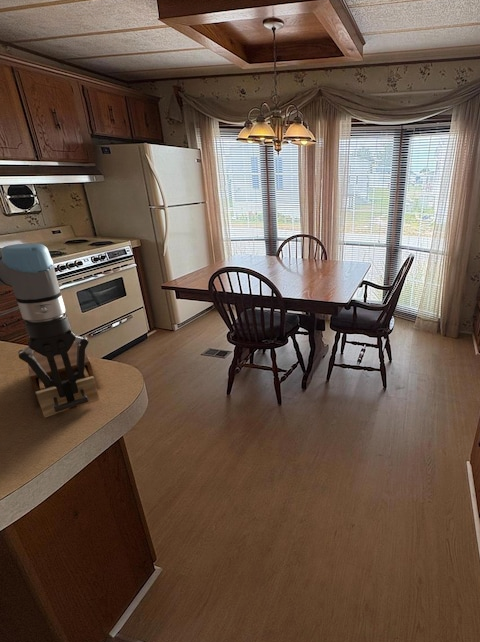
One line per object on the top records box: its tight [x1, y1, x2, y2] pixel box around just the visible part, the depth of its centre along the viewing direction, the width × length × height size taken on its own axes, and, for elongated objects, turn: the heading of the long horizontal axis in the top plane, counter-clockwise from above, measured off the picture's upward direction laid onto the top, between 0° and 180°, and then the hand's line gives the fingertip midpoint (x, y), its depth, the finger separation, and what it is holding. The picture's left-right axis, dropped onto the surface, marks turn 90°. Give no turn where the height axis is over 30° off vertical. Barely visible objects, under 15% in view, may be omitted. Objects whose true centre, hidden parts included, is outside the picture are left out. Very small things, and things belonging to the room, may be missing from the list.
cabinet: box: [27, 341, 98, 405], centre depth 96 cm, size 16×13×9 cm
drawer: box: [35, 366, 100, 418], centre depth 88 cm, size 20×12×7 cm, turn 41°
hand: (72, 405), depth 84 cm, fingers closed
